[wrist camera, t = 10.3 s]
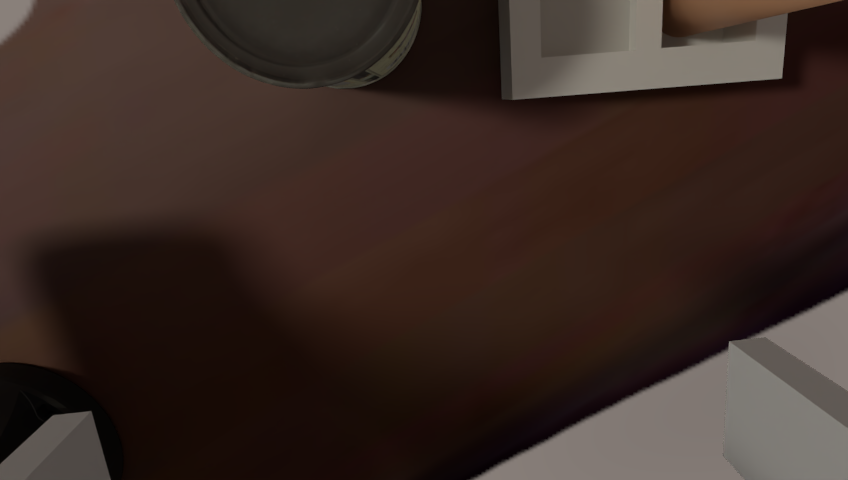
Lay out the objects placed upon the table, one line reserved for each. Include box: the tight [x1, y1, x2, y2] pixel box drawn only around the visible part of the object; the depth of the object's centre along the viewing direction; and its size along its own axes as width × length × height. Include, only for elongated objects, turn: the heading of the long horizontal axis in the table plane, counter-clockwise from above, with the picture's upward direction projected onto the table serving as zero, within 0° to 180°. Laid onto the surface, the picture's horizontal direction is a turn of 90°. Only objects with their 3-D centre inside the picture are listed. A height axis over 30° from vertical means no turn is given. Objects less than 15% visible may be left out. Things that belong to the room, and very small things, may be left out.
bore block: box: [498, 0, 788, 100], centre depth 33 cm, size 16×10×4 cm, turn 94°
